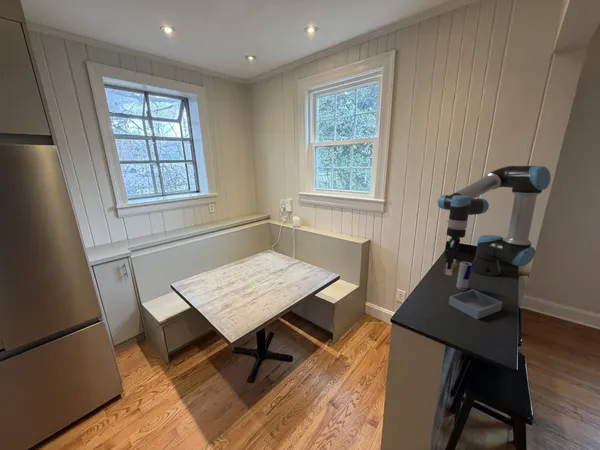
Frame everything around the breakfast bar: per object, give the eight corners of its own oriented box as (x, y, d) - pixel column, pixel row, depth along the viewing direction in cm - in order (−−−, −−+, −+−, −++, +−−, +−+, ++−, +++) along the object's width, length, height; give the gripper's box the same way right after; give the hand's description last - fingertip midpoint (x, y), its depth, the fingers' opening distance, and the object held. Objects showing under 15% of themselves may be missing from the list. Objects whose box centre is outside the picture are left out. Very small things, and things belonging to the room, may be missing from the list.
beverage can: (469, 291, 129) (473, 265, 125) (458, 290, 130) (462, 264, 126) (464, 286, 134) (469, 261, 130) (454, 286, 135) (458, 260, 131)
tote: (471, 296, 124) (472, 289, 123) (500, 310, 112) (502, 302, 111) (448, 304, 117) (449, 296, 116) (477, 319, 106) (478, 311, 105)
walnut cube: (445, 270, 125) (446, 261, 124) (456, 273, 122) (457, 264, 121) (442, 273, 121) (444, 264, 120) (454, 276, 118) (455, 267, 117)
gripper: (451, 223, 125) (445, 265, 130) (443, 230, 112) (436, 276, 117) (469, 225, 120) (461, 269, 126) (462, 233, 107) (454, 281, 113)
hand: (449, 272), depth 121 cm, fingers closed on walnut cube, 5 cm apart
